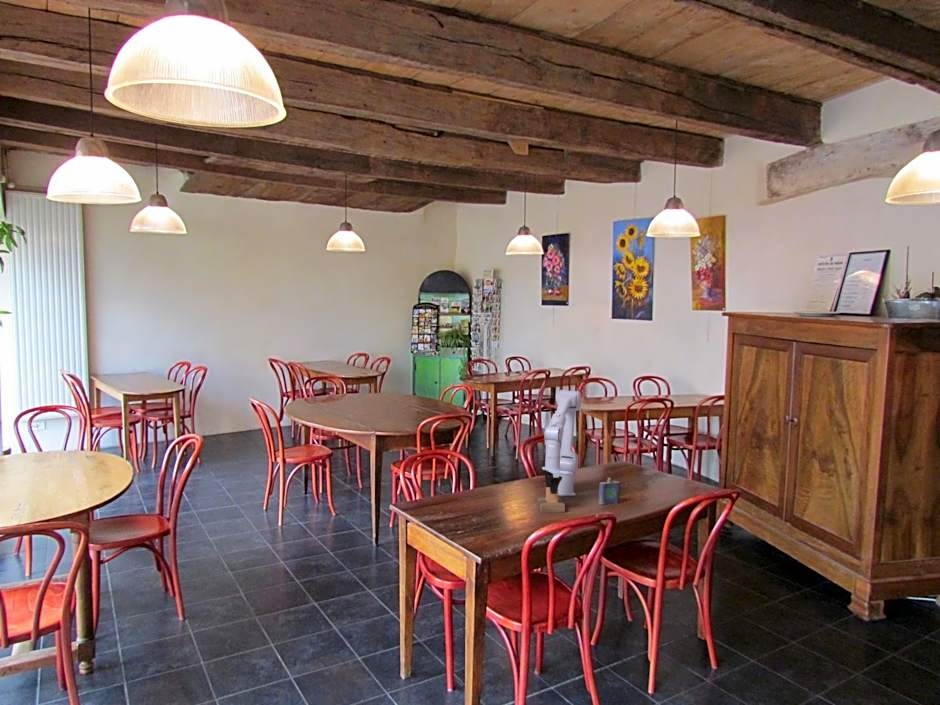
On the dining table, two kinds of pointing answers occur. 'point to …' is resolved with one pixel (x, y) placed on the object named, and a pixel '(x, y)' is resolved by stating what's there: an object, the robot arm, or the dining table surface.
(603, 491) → the flask
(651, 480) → the dining table surface
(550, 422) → the robot arm
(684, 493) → the dining table surface
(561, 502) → the base
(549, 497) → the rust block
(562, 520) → the dining table surface
